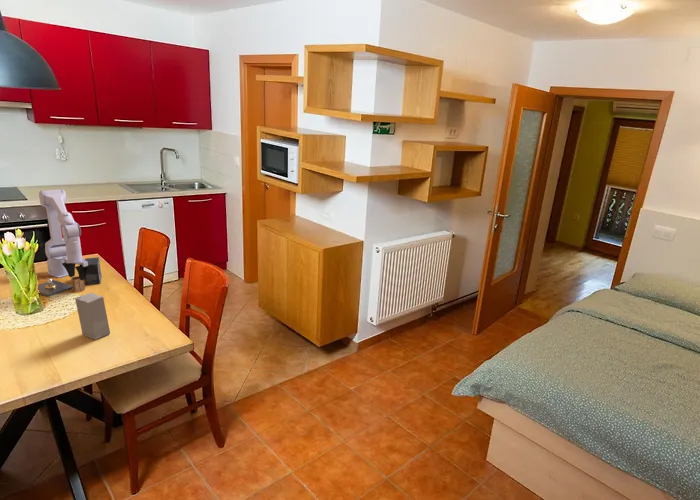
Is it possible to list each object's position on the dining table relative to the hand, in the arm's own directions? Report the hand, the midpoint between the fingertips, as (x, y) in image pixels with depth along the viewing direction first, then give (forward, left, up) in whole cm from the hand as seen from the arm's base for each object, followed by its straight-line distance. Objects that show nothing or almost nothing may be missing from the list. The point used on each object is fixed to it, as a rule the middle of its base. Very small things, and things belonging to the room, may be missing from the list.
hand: (77, 278), depth 205 cm
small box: (-5, +11, -6) cm, 14 cm away
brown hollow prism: (0, 0, -6) cm, 6 cm away
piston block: (-11, -6, -6) cm, 14 cm away
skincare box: (+44, -24, -6) cm, 50 cm away
